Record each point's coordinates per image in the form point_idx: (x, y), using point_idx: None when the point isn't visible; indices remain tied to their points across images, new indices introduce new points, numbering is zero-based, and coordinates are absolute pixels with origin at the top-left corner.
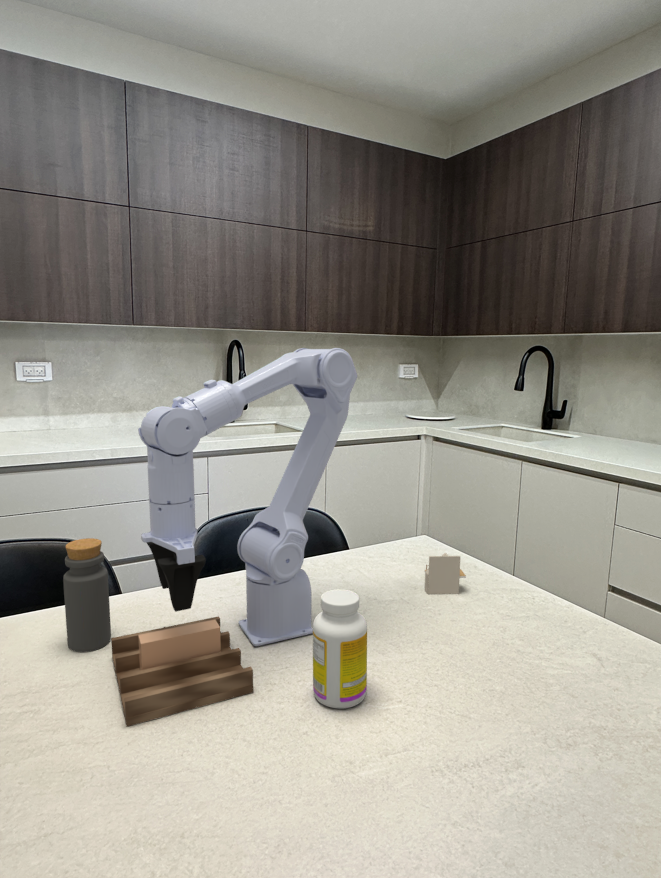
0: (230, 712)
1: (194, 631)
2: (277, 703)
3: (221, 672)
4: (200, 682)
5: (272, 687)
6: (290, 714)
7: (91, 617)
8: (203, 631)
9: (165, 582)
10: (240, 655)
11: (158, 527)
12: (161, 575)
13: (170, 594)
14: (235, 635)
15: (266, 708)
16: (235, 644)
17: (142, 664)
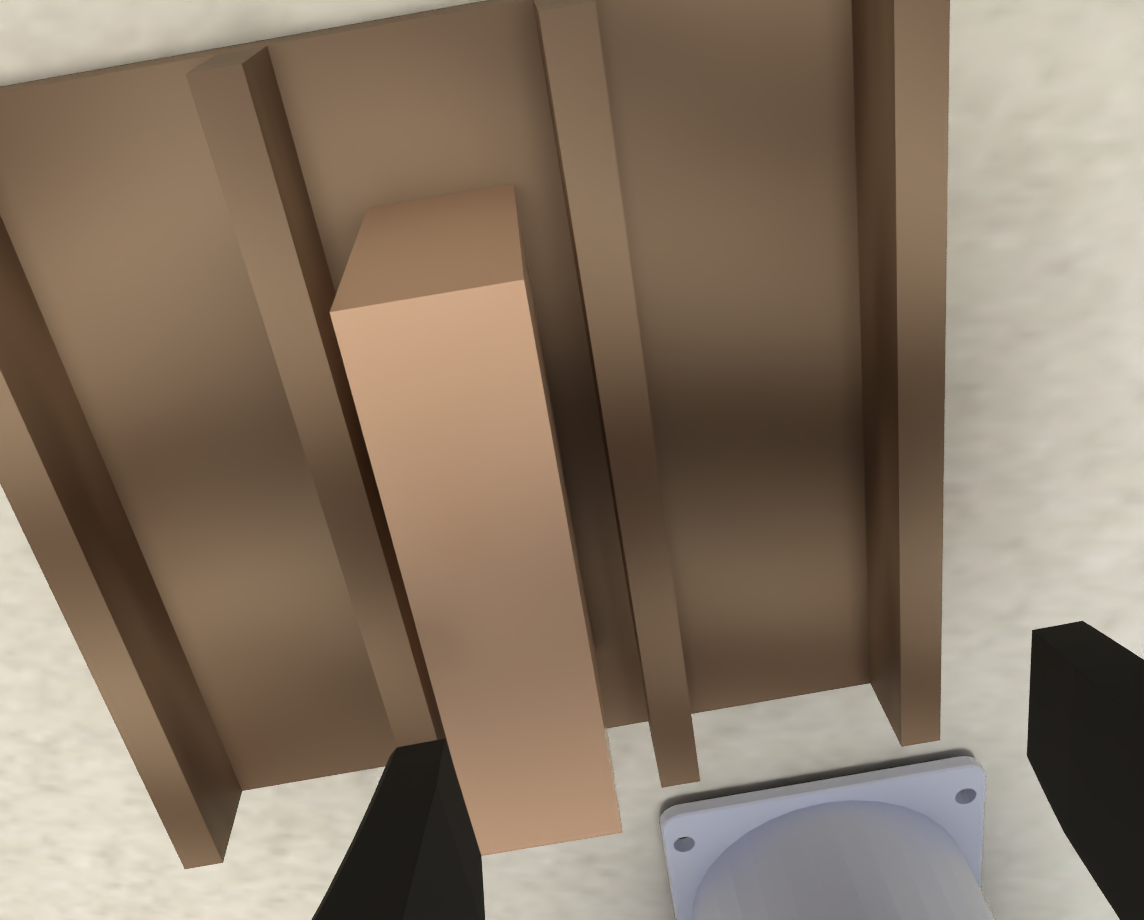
0: (43, 658)
1: (461, 707)
2: (102, 845)
3: (366, 666)
4: (69, 618)
5: (246, 839)
6: (6, 880)
7: None
8: (454, 757)
9: (1066, 703)
10: None
11: None
12: (1129, 737)
13: (350, 890)
14: (847, 726)
15: (64, 802)
16: (740, 720)
17: (352, 252)
